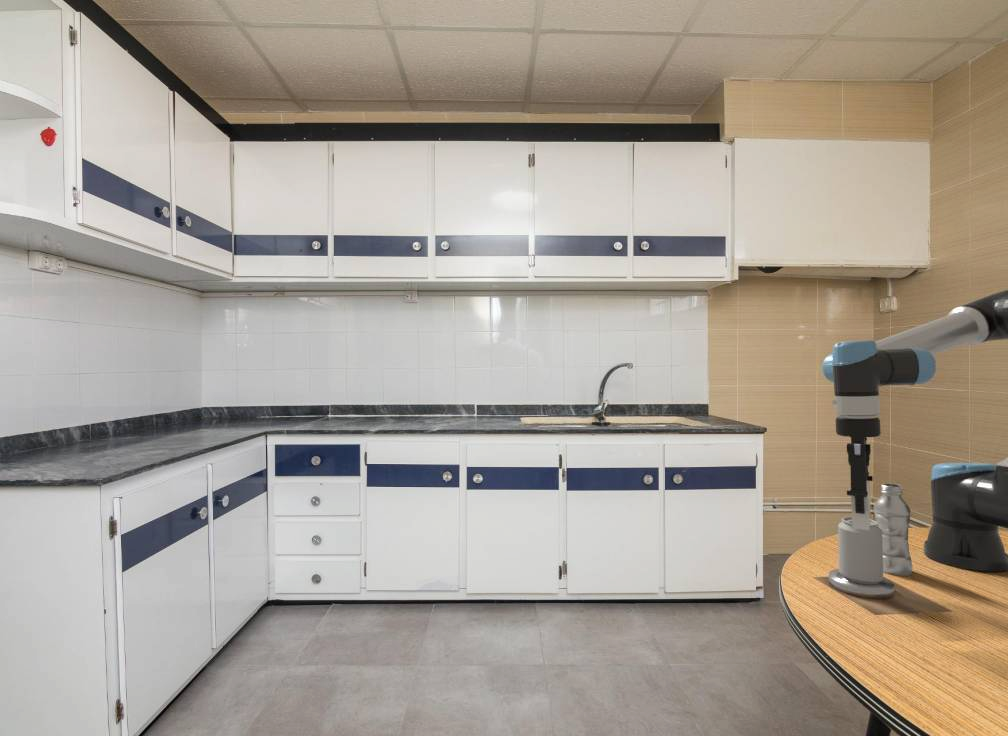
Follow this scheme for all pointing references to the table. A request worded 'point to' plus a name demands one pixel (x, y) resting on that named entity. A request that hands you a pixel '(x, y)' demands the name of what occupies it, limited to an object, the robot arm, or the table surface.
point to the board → (894, 601)
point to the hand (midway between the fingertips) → (862, 520)
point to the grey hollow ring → (861, 587)
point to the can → (860, 552)
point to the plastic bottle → (894, 530)
